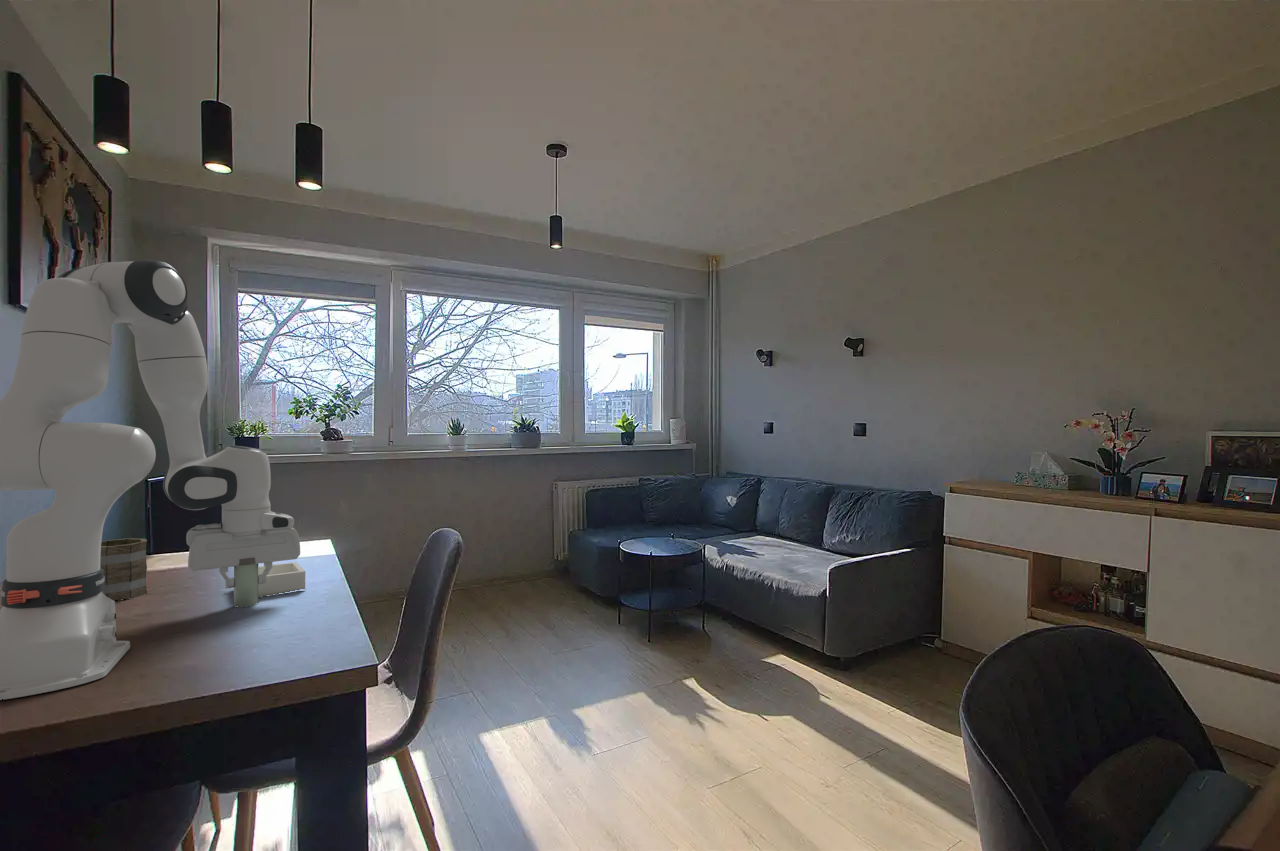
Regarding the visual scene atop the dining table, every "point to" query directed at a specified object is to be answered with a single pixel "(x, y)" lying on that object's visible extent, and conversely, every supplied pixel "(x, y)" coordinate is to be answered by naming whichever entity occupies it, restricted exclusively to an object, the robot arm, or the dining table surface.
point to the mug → (124, 567)
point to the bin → (282, 579)
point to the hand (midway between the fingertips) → (246, 585)
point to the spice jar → (246, 583)
